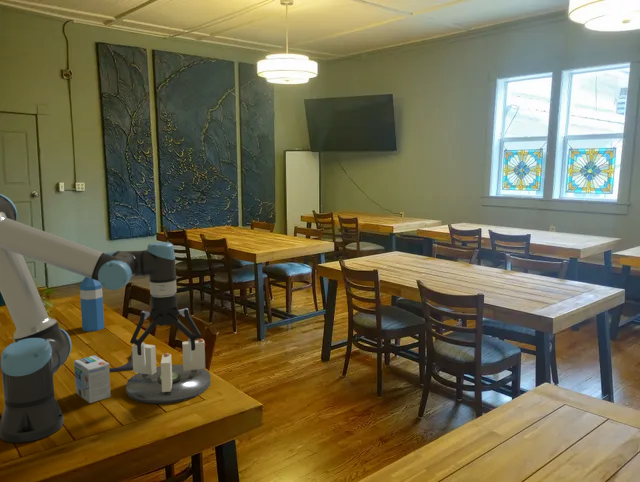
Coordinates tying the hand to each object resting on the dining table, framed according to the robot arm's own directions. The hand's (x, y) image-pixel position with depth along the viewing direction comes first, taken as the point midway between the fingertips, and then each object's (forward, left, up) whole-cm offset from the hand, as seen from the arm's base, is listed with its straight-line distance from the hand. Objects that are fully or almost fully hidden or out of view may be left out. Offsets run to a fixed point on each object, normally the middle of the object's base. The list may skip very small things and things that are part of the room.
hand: (167, 362), depth 157 cm
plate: (+7, +6, -11) cm, 14 cm away
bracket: (+16, +32, -12) cm, 38 cm away
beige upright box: (+15, +3, -9) cm, 18 cm away
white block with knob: (0, 0, -9) cm, 9 cm away
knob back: (+5, +15, -9) cm, 18 cm away
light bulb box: (-9, +22, -11) cm, 27 cm away
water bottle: (+37, +78, -11) cm, 87 cm away
